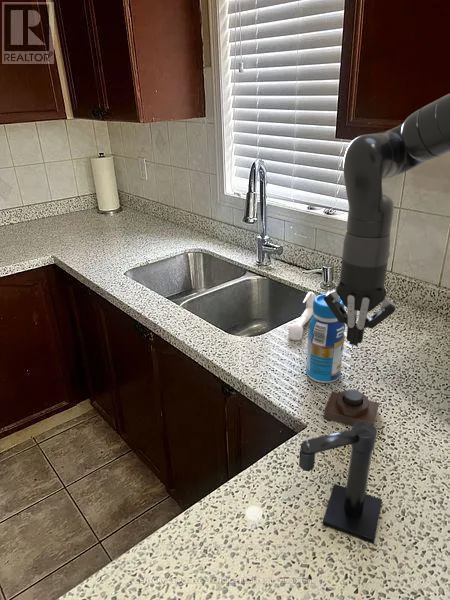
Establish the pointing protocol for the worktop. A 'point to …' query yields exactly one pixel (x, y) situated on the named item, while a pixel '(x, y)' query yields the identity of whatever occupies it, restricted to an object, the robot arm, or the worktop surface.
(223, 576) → the worktop surface
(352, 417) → the brown button base
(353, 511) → the tap body
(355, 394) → the pump button
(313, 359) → the beverage bottle
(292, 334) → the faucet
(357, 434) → the spout
